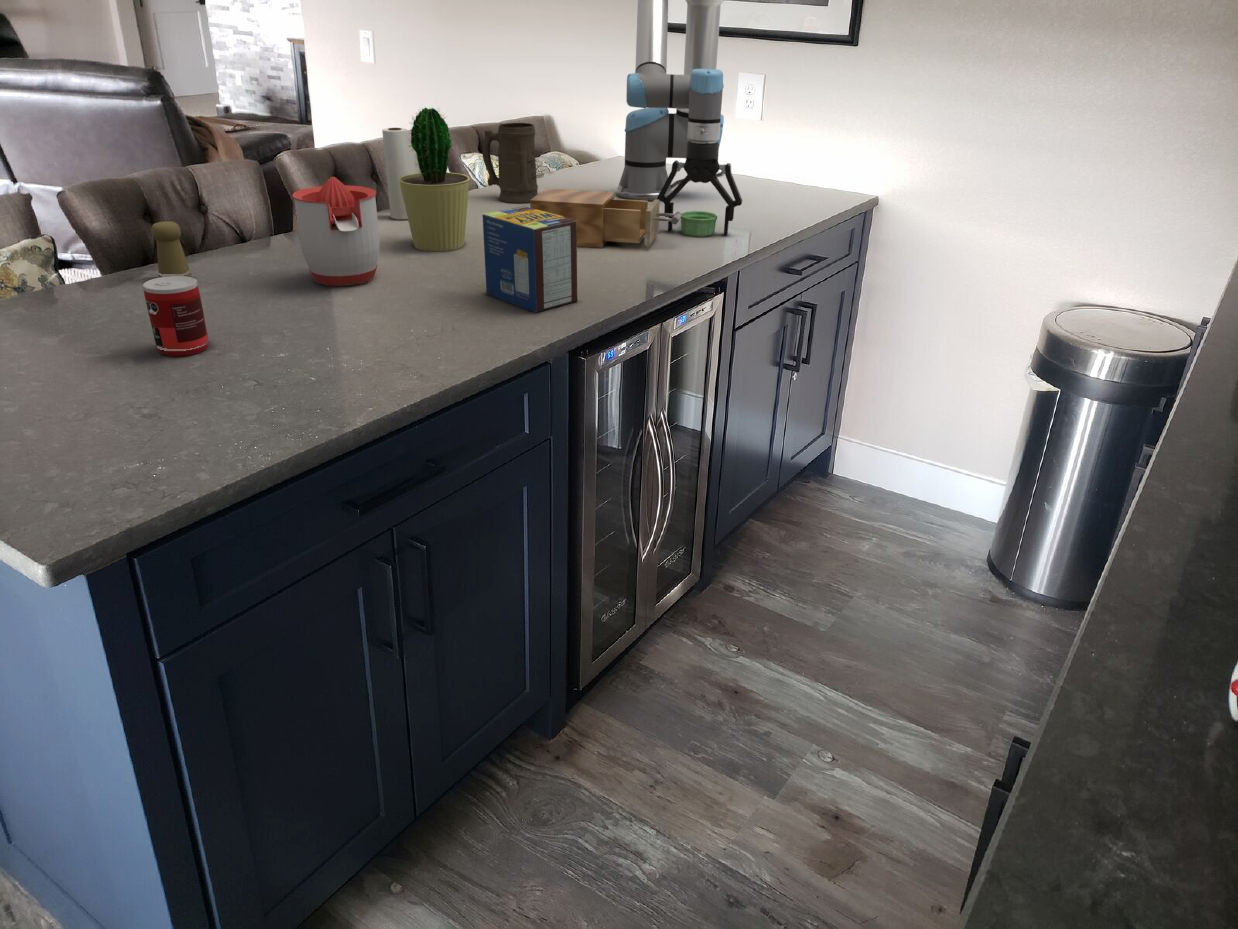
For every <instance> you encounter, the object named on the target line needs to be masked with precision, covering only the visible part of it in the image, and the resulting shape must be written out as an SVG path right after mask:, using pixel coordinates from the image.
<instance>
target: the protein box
mask: <svg viewBox="0 0 1238 929" xmlns="http://www.w3.org/2000/svg"><path fill="white" fill-rule="evenodd" d="M482 232H483V251H484V252H483V254H484V269H485V270H484V272H485V273H484V274H485V293H486V294H487V295H489V296H491V297H493V298H497V299H498V300H502V301H504V302H506V303H510V304H513V305H515V306H518V307H520V308H523V309H526V310H528V311H531V312H533V313H539V312H542V311H546V310H551V309H553V308H557V307H560V306H565V305H568V304H572V303H575V302H578V246H577V220H576V219H572V218H568V217H564V216H560V215H556V214H552V213H548V212H545V211H541V210H537V209H533V208H530V206H525V205H524V206H523V205H522V206H518V207H517V206H516V207H512V208H508V209H502V210H501V209H500V210H497V211H491V212H484V213H482Z"/></svg>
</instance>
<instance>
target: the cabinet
mask: <svg viewBox="0 0 1238 929" xmlns="http://www.w3.org/2000/svg"><path fill="white" fill-rule="evenodd" d="M615 194H616V193H615V192H614V191H613V192H612V191H597V190H582V189H566V188H565V189H563V188H550V187H549V188H548V187H547V188H546V187H545V188H544V189H543V190H542V191H540V192H539V193H538V195H536V196H535V197H534V198H532V199H531V200H530V202H529V208H533V209H537V210H541V211H545V212H548V213H552V214H556V215H560V216H564V217H568V218H572V219H576V220H577V247H583V248H596V249H597V248H598V249H602V248H604V246H605V245H607V243H608V241H603V207H604V206H605V205H606V204H607V203H608V202H609V201H610V200H611V199H615Z"/></svg>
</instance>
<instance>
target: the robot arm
mask: <svg viewBox="0 0 1238 929" xmlns="http://www.w3.org/2000/svg"><path fill="white" fill-rule="evenodd" d="M724 1H725V0H685V2H686V4H687V5H686V25H685V40H684V41H685V44H684V62H683V63H684V64H683V74H673V73H671V74H670V73H667V65H668V63H667V62H668V23H669V0H637V13H636V38H635V40H636V41H635V68H634V72H633V73H628V74H627V76H626V93H625V94H626V96H625V97H626V98H625V99H626V105H627V106H628V107H631V108H638V109H635V110H632V111H630V112H629V113H627V114H626V117H625V126H624V132H625V136H624V167H623V170H622V174H621V177H620V180H619V183H618V186H617V196H618V197H619V198H621V199H626V200H643V201H648V202H649V201H652V202H653V201H654V200H655V199H656V200H660V201H659V202H662V203H663V204H664V208H663V211H664V212H663V213H669V214H674V202H672V201H673V199H674V198H675V197H676V196H677V195H678V194H679V193H680V192H681V191H682V189H683V188H684V187H685V186H686V185H687V184H688V183H689V182H690V181H692V182H693V183H695V184H696V183H701V184H708V183H710V184H711V185H712V186H713V187H714V188H715V189H716V191H717V193H718V194H719V195H720V197H721V198H722V199H723V201H724V202H725V203H726V206H725V209H724V211H725V212H724V226H723V236H726V237H727V236H728V234H729V223H730V222H733V220H734V218H735V217H734V216H735V208H736V207H739V206H741V205H742V204H743V198H742V195H741V193H740V191H739V188H738V186H737V184H736V180H735V178H734V176H733V172H732V164H731V163H730V162H728V163H725V164H724V163H723V164H720V162H719V151H720V145H721V141H722V136H723V130H724V123H725V122H724V121H725V118H724V114H722V104H723V90H724V87H725V86H724V72H723V71H722V70H721V69H717V63H718V50H719V38H720V37H719V36H720V21H721V6H722V3H723V2H724ZM669 109H676V111H675V112H674V113H671V112H670V113H669ZM667 159H685V161H684V162H681V161H679V160H674V161H673V162H672V164H671V171H670V173H669V174H668V171H667ZM682 169H683V170H684V172H685V173H686V174H687V175H686V176H685V177H684V178H681V179H678V180H675V181H674V179H675V177H676V176H677V173H678V172H680V171H681V170H682ZM719 171H720V172H719ZM718 172H719V173H718ZM722 175H725V179H726V181H727V183H728V186H729V188H730V191H731V194H732V196H733V198H734V199H733V198H732V196H731V195H730V194H729V193H728V191H727V189H726V188H725V186H724V185H723V184H722V183H721V182H720V180H719V178H718V177H720V176H722ZM673 181H674V182H673ZM675 186H676V187H675ZM672 188H674V189H673V190H672ZM664 218H670V219H672V218H673V217H668V216H664ZM673 225H674V224H672V222H667V233H671V232H672V231H673Z"/></svg>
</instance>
